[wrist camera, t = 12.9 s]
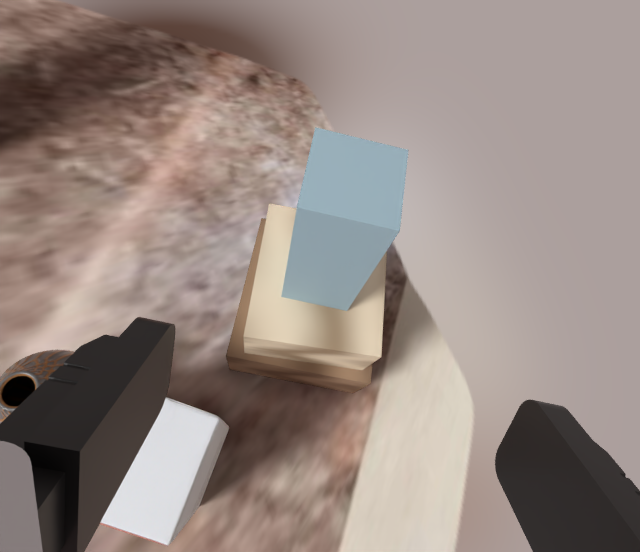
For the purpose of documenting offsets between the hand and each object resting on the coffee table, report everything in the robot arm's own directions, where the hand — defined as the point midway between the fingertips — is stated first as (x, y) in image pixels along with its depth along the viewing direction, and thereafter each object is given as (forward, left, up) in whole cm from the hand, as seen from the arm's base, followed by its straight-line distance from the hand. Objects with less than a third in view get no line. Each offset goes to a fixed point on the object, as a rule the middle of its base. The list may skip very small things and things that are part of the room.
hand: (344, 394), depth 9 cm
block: (0, +10, -16) cm, 19 cm away
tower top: (+1, +10, -21) cm, 24 cm away
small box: (-8, -3, -27) cm, 29 cm away
